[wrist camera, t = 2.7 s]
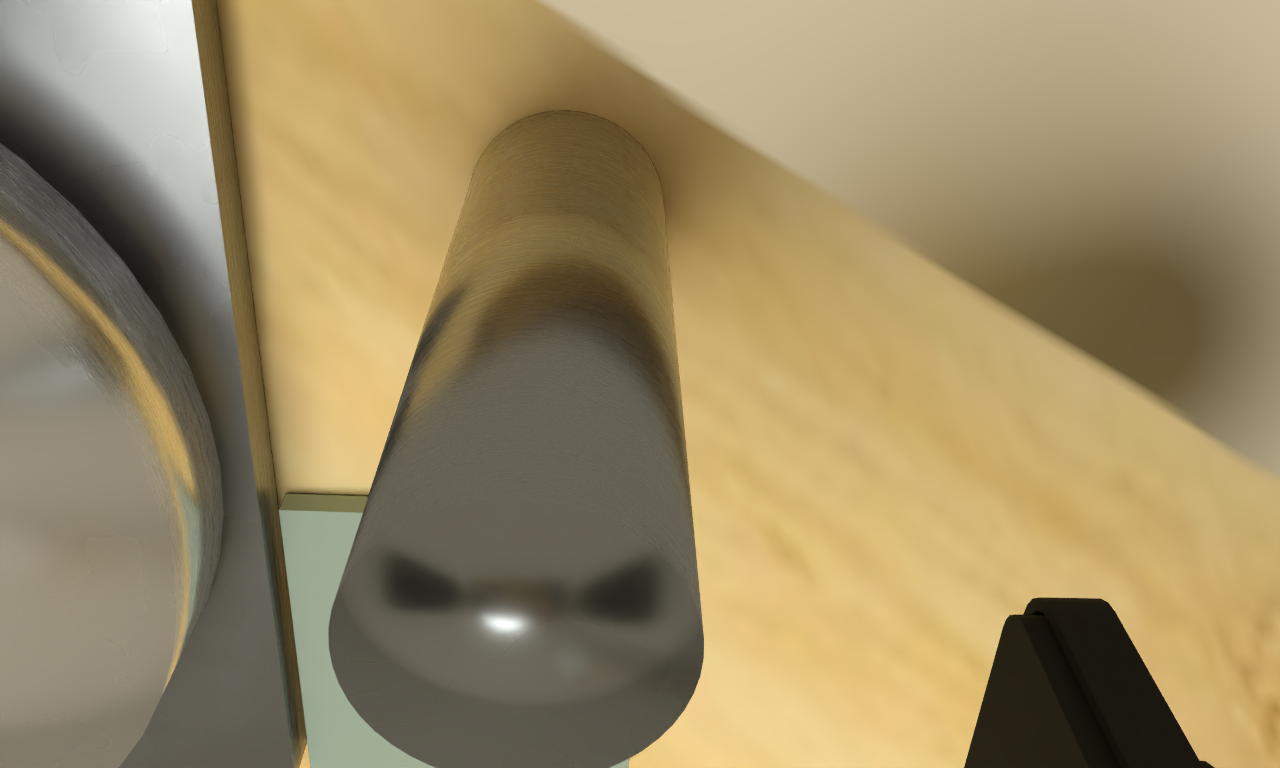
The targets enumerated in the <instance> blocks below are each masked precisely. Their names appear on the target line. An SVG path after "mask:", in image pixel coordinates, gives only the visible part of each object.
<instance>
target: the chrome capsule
mask: <svg viewBox="0 0 1280 768" xmlns="http://www.w3.org/2000/svg"><path fill="white" fill-rule="evenodd" d="M328 637H329V652H330V657H331V662H332V667H333V669H334V672H335V675H336V677H337V680H338V683H339V685H340V687H341V689H342V690H343V692H344V694H345V696H346V698H347V699H348V701H349V702H350V704H351V705H352V706H353V708H354V709H355V710H356V712H357V713H358V714H359V716H360V717H361V718H362V719H363V720H364V721H365V722H366V723H367V724H368V725H369V726H370V727H371V728H372V729H373V730H374V731H375V732H376V733H378V734H379V735H380V736H381V737H383V738H384V739H385V740H386V741H388V742H389V743H390V744H392V745H393V746H395V747H396V748H398V749H400V750H401V751H403V752H404V753H406V754H408V755H409V756H411V757H413V758H415V759H417V760H419V761H422V762H424V763H426V764H428V765H430V766H433V767H435V768H610V767H612V766H614V765H616V764H619V763H621V762H623V761H625V760H627V759H629V758H630V757H632V756H634V755H636V754H637V753H639V752H641V751H642V750H644V749H645V748H646V747H648V746H649V745H650V744H652V743H653V742H654V741H656V740H657V739H658V738H660V737H661V736H662V735H663V734H664V733H665V732H666V731H667V730H668V729H669V728H670V727H671V726H672V725H673V724H674V722H675V721H676V720H677V719H678V717H679V716H680V715H681V713H682V712H683V711H684V710H685V708H686V706H687V704H688V702H689V701H690V699H691V697H692V695H693V694H694V691H695V688H696V686H697V683H698V680H699V678H700V674H701V669H702V663H703V658H704V635H703V625H702V614H701V603H700V592H699V581H698V571H697V560H696V549H695V538H694V527H693V516H692V506H691V495H690V484H689V473H688V462H687V451H686V441H685V430H684V419H683V408H682V397H681V387H680V376H679V365H678V354H677V343H676V332H675V322H674V311H673V300H672V289H671V278H670V268H669V257H668V246H667V235H666V224H665V213H664V203H663V194H662V187H661V183H660V180H659V176H658V173H657V171H656V169H655V167H654V164H653V162H652V161H651V159H650V158H649V156H648V154H647V153H646V151H645V150H644V149H643V148H642V147H641V145H640V144H639V143H638V142H637V141H636V140H635V139H634V138H633V137H632V136H631V135H630V134H628V133H627V132H626V131H624V130H623V129H622V128H620V127H619V126H617V125H615V124H613V123H611V122H610V121H608V120H605V119H603V118H600V117H598V116H595V115H591V114H587V113H583V112H575V111H552V112H545V113H540V114H537V115H533V116H530V117H528V118H525V119H523V120H521V121H518V122H517V123H515V124H513V125H512V126H510V127H508V128H507V129H506V130H504V131H503V132H502V133H501V134H499V135H498V136H497V137H496V138H495V139H494V140H493V141H492V142H491V144H490V145H489V146H488V147H487V149H486V150H485V151H484V153H483V154H482V156H481V158H480V160H479V162H478V164H477V166H476V168H475V171H474V174H473V177H472V180H471V183H470V186H469V189H468V192H467V195H466V198H465V201H464V204H463V208H462V211H461V214H460V217H459V220H458V223H457V226H456V229H455V232H454V235H453V238H452V241H451V244H450V247H449V250H448V254H447V257H446V260H445V263H444V266H443V269H442V272H441V275H440V278H439V281H438V284H437V287H436V290H435V293H434V296H433V300H432V303H431V306H430V309H429V312H428V315H427V318H426V321H425V324H424V327H423V330H422V333H421V336H420V339H419V342H418V345H417V349H416V352H415V355H414V358H413V361H412V364H411V367H410V370H409V373H408V376H407V379H406V382H405V385H404V388H403V391H402V395H401V398H400V401H399V404H398V407H397V410H396V413H395V416H394V419H393V422H392V425H391V428H390V431H389V434H388V437H387V441H386V444H385V447H384V450H383V453H382V456H381V459H380V462H379V465H378V468H377V471H376V474H375V477H374V480H373V483H372V487H371V490H370V493H369V496H368V499H367V502H366V505H365V508H364V511H363V514H362V517H361V520H360V523H359V526H358V529H357V533H356V536H355V539H354V542H353V545H352V548H351V551H350V554H349V557H348V560H347V563H346V566H345V569H344V572H343V575H342V579H341V582H340V585H339V588H338V591H337V594H336V597H335V600H334V603H333V606H332V609H331V615H330V621H329V628H328Z"/></svg>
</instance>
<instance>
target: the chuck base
mask: <svg viewBox="0 0 1280 768" xmlns="http://www.w3.org/2000/svg"><path fill="white" fill-rule="evenodd" d="M0 143H1V144H2V145H3V146H5V147H6V148H7V149H9V150H10V151H12V152H13V153H14V154H16V155H17V156H18V157H20V158H21V159H22V160H24V161H25V162H26V163H27V164H28V165H29V166H30V167H31V168H32V169H34V170H35V171H36V172H37V173H38V174H39V175H40V176H41V177H42V178H43V179H45V180H46V181H47V182H48V183H49V184H50V185H51V186H52V187H53V188H54V189H56V190H57V191H58V192H59V193H60V194H61V195H62V196H63V197H64V198H65V199H66V200H68V201H69V202H70V203H71V204H72V205H73V206H74V207H75V208H76V209H77V210H78V211H79V212H80V213H81V214H82V215H83V216H84V217H85V218H86V220H87V221H88V222H89V223H90V224H91V225H92V226H93V227H94V229H95V230H96V231H97V232H98V233H99V234H100V235H101V236H102V238H103V239H104V240H105V241H106V242H107V243H108V244H109V245H110V247H111V248H112V249H113V250H114V251H115V252H116V253H117V254H118V256H119V257H120V258H121V259H122V260H123V261H124V263H125V264H126V265H127V267H128V268H129V270H130V271H131V272H132V274H133V275H134V277H135V278H136V280H137V281H138V282H139V284H140V285H141V287H142V288H143V289H144V291H145V292H146V294H147V295H148V297H149V298H150V299H151V301H152V302H153V304H154V305H155V306H156V308H157V309H158V311H159V312H160V313H161V315H162V317H163V319H164V321H165V323H166V324H167V326H168V328H169V330H170V332H171V334H172V336H173V337H174V339H175V341H176V343H177V345H178V347H179V348H180V350H181V352H182V354H183V356H184V358H185V360H186V361H187V363H188V365H189V367H190V370H191V372H192V375H193V378H194V380H195V383H196V385H197V388H198V391H199V393H200V396H201V398H202V401H203V404H204V406H205V409H206V412H207V414H208V417H209V420H210V425H211V429H212V434H213V438H214V442H215V447H216V451H217V455H218V460H219V464H220V472H221V486H222V500H223V524H222V534H221V545H220V555H219V561H218V564H217V568H216V571H215V575H214V579H213V582H212V586H211V589H210V593H209V597H208V599H207V601H206V604H205V606H204V608H203V610H202V612H201V614H200V616H199V618H198V620H197V623H196V625H195V627H194V629H193V631H192V633H191V635H190V637H189V640H188V642H187V644H186V646H185V648H184V650H183V652H182V654H181V657H180V659H179V661H178V663H177V665H176V667H175V669H174V671H173V674H172V676H171V678H170V680H169V682H168V684H167V686H166V688H165V690H164V693H163V695H162V697H161V699H160V701H159V703H158V705H157V707H156V709H155V711H154V713H153V715H152V718H151V720H150V722H149V724H148V726H147V728H146V730H145V732H144V734H143V736H142V737H141V738H140V740H139V741H138V742H137V744H136V745H135V747H134V748H133V749H132V751H131V752H130V753H129V755H128V756H127V757H126V759H125V760H124V761H123V763H122V764H121V766H120V767H119V768H299V766H300V763H301V760H302V757H303V753H304V750H305V747H306V743H307V737H306V728H305V720H304V712H303V704H302V696H301V688H300V680H299V672H298V663H297V655H296V647H295V639H294V631H293V623H292V615H291V606H290V598H289V590H288V582H287V574H286V566H285V558H284V550H283V541H282V533H281V525H280V517H279V509H278V501H277V493H276V484H275V476H274V468H273V460H272V452H271V444H270V436H269V428H268V419H267V411H266V403H265V395H264V387H263V379H262V371H261V362H260V354H259V346H258V338H257V330H256V322H255V314H254V306H253V297H252V289H251V281H250V273H249V265H248V257H247V249H246V240H245V232H244V224H243V216H242V208H241V200H240V192H239V184H238V175H237V167H236V159H235V151H234V143H233V135H232V127H231V118H230V110H229V102H228V94H227V86H226V78H225V70H224V61H223V53H222V45H221V37H220V29H219V21H218V13H217V5H216V0H0Z"/></svg>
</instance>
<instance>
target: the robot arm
mask: <svg viewBox="0 0 1280 768" xmlns="http://www.w3.org/2000/svg"><path fill="white" fill-rule="evenodd" d="M964 768H1214V767H1213V766H1211V765H1210V764H1209V763H1207V762H1206V761H1199V759H1198V757H1197V756H1196V754H1195V752H1194V750H1193V749H1192V747H1191V745H1190V743H1189V742H1188V740H1187V738H1186V736H1185V734H1184V733H1183V731H1182V729H1181V727H1180V726H1179V724H1178V722H1177V720H1176V719H1175V717H1174V715H1173V713H1172V712H1171V710H1170V708H1169V706H1168V704H1167V703H1166V701H1165V699H1164V697H1163V696H1162V694H1161V692H1160V690H1159V689H1158V687H1157V685H1156V683H1155V682H1154V680H1153V678H1152V676H1151V674H1150V673H1149V671H1148V669H1147V667H1146V666H1145V664H1144V662H1143V660H1142V659H1141V657H1140V655H1139V653H1138V651H1137V650H1136V648H1135V646H1134V644H1133V643H1132V641H1131V639H1130V637H1129V636H1128V634H1127V632H1126V630H1125V629H1124V627H1123V625H1122V623H1121V621H1120V620H1119V618H1118V616H1117V614H1116V613H1115V611H1114V610H1113V608H1112V607H1111V606H1110V604H1109V603H1108V602H1106V601H1104V600H1102V599H1088V598H1034V599H1032V600H1031V601H1030V602H1029V603H1028V605H1027V607H1026V609H1025V612H1024V614H1023V615H1010V616H1009V617H1008V618H1007V619H1006V621H1005V624H1004V626H1003V630H1002V633H1001V637H1000V641H999V644H998V648H997V651H996V655H995V659H994V662H993V666H992V669H991V673H990V677H989V680H988V684H987V687H986V691H985V695H984V698H983V702H982V705H981V709H980V713H979V716H978V720H977V723H976V727H975V731H974V734H973V738H972V741H971V745H970V749H969V752H968V756H967V759H966V763H965V767H964Z"/></svg>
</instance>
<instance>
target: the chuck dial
mask: <svg viewBox="0 0 1280 768" xmlns="http://www.w3.org/2000/svg"><path fill="white" fill-rule="evenodd" d="M222 524H223V500H222V486H221V472H220V464H219V460H218V455H217V451H216V447H215V442H214V438H213V434H212V429H211V425H210V420H209V417H208V414H207V412H206V409H205V406H204V404H203V401H202V398H201V396H200V393H199V391H198V388H197V385H196V383H195V380H194V378H193V375H192V372H191V370H190V367H189V365H188V363H187V361H186V360H185V358H184V356H183V354H182V352H181V350H180V348H179V347H178V345H177V343H176V341H175V339H174V337H173V336H172V334H171V332H170V330H169V328H168V326H167V324H166V323H165V321H164V319H163V317H162V315H161V313H160V312H159V311H158V309H157V308H156V306H155V305H154V304H153V302H152V301H151V299H150V298H149V297H148V295H147V294H146V292H145V291H144V289H143V288H142V287H141V285H140V284H139V282H138V281H137V280H136V278H135V277H134V275H133V274H132V272H131V271H130V270H129V268H128V267H127V265H126V264H125V263H124V261H123V260H122V259H121V258H120V257H119V256H118V254H117V253H116V252H115V251H114V250H113V249H112V248H111V247H110V245H109V244H108V243H107V242H106V241H105V240H104V239H103V238H102V236H101V235H100V234H99V233H98V232H97V231H96V230H95V229H94V227H93V226H92V225H91V224H90V223H89V222H88V221H87V220H86V218H85V217H84V216H83V215H82V214H81V213H80V212H79V211H78V210H77V209H76V208H75V207H74V206H73V205H72V204H71V203H70V202H69V201H68V200H66V199H65V198H64V197H63V196H62V195H61V194H60V193H59V192H58V191H57V190H56V189H54V188H53V187H52V186H51V185H50V184H49V183H48V182H47V181H46V180H45V179H43V178H42V177H41V176H40V175H39V174H38V173H37V172H36V171H35V170H34V169H32V168H31V167H30V166H29V165H28V164H27V163H26V162H25V161H24V160H22V159H21V158H20V157H18V156H17V155H16V154H14V153H13V152H12V151H10V150H9V149H7V148H6V147H5V146H3V145H2V144H1V143H0V768H119V767H120V766H121V764H122V763H123V761H124V760H125V759H126V757H127V756H128V755H129V753H130V752H131V751H132V749H133V748H134V747H135V745H136V744H137V742H138V741H139V740H140V738H141V737H142V736H143V734H144V732H145V730H146V728H147V726H148V724H149V722H150V720H151V718H152V715H153V713H154V711H155V709H156V707H157V705H158V703H159V701H160V699H161V697H162V695H163V693H164V690H165V688H166V686H167V684H168V682H169V680H170V678H171V676H172V674H173V671H174V669H175V667H176V665H177V663H178V661H179V659H180V657H181V654H182V652H183V650H184V648H185V646H186V644H187V642H188V640H189V637H190V635H191V633H192V631H193V629H194V627H195V625H196V623H197V620H198V618H199V616H200V614H201V612H202V610H203V608H204V606H205V604H206V601H207V599H208V597H209V593H210V589H211V586H212V582H213V579H214V575H215V571H216V568H217V564H218V561H219V555H220V545H221V534H222Z"/></svg>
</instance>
